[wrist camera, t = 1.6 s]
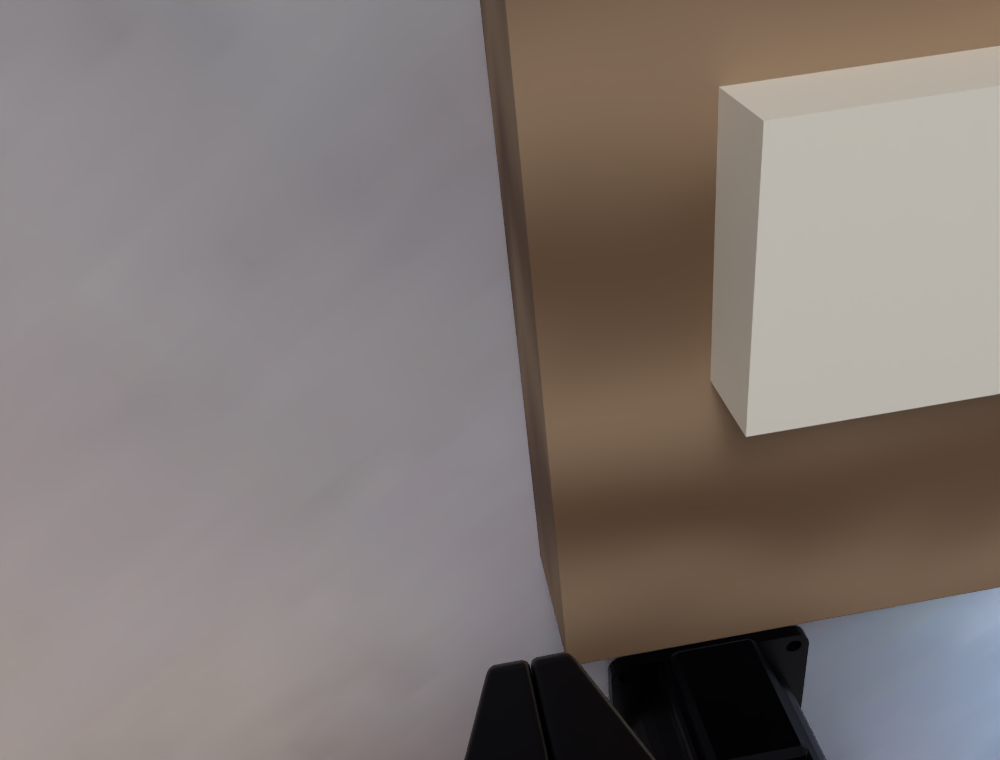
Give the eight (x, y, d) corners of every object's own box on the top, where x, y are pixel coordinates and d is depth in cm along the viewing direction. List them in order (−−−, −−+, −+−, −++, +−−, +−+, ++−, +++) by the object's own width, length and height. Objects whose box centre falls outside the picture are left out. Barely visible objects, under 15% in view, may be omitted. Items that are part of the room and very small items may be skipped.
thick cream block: (1121, 312, 19) (1195, 360, 17) (710, 380, 19) (746, 437, 17) (1215, 14, 16) (1317, 37, 14) (718, 87, 15) (763, 120, 14)
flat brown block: (1000, 475, 27) (1092, 569, 24) (540, 556, 26) (568, 666, 23) (1266, -554, 15) (1530, -659, 12) (429, -464, 14) (452, -550, 11)
